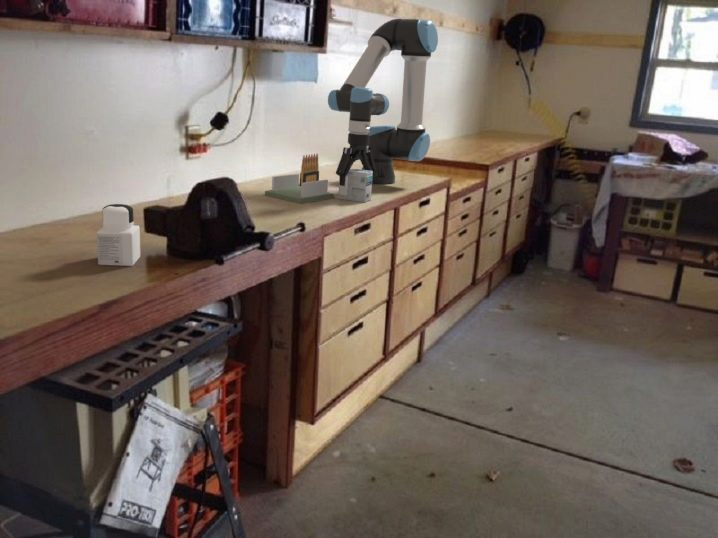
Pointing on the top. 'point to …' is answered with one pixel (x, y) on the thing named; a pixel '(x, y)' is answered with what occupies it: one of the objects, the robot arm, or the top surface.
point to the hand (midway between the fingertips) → (354, 192)
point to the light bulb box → (358, 185)
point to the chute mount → (298, 189)
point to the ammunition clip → (309, 169)
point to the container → (118, 237)
